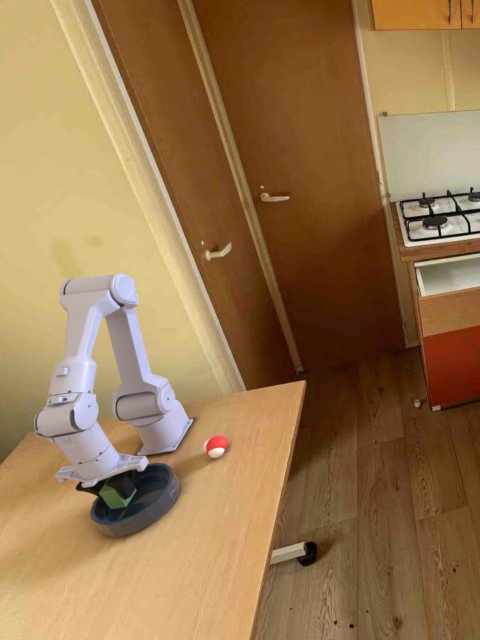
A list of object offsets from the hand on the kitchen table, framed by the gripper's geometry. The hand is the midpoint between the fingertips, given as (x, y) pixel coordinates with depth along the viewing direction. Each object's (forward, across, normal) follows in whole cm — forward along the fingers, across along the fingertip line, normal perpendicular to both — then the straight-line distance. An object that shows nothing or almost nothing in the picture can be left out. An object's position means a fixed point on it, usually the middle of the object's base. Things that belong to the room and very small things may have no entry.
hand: (121, 495), depth 86 cm
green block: (+1, 0, 0) cm, 1 cm away
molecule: (+4, +12, +11) cm, 17 cm away
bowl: (+4, +2, 0) cm, 5 cm away
